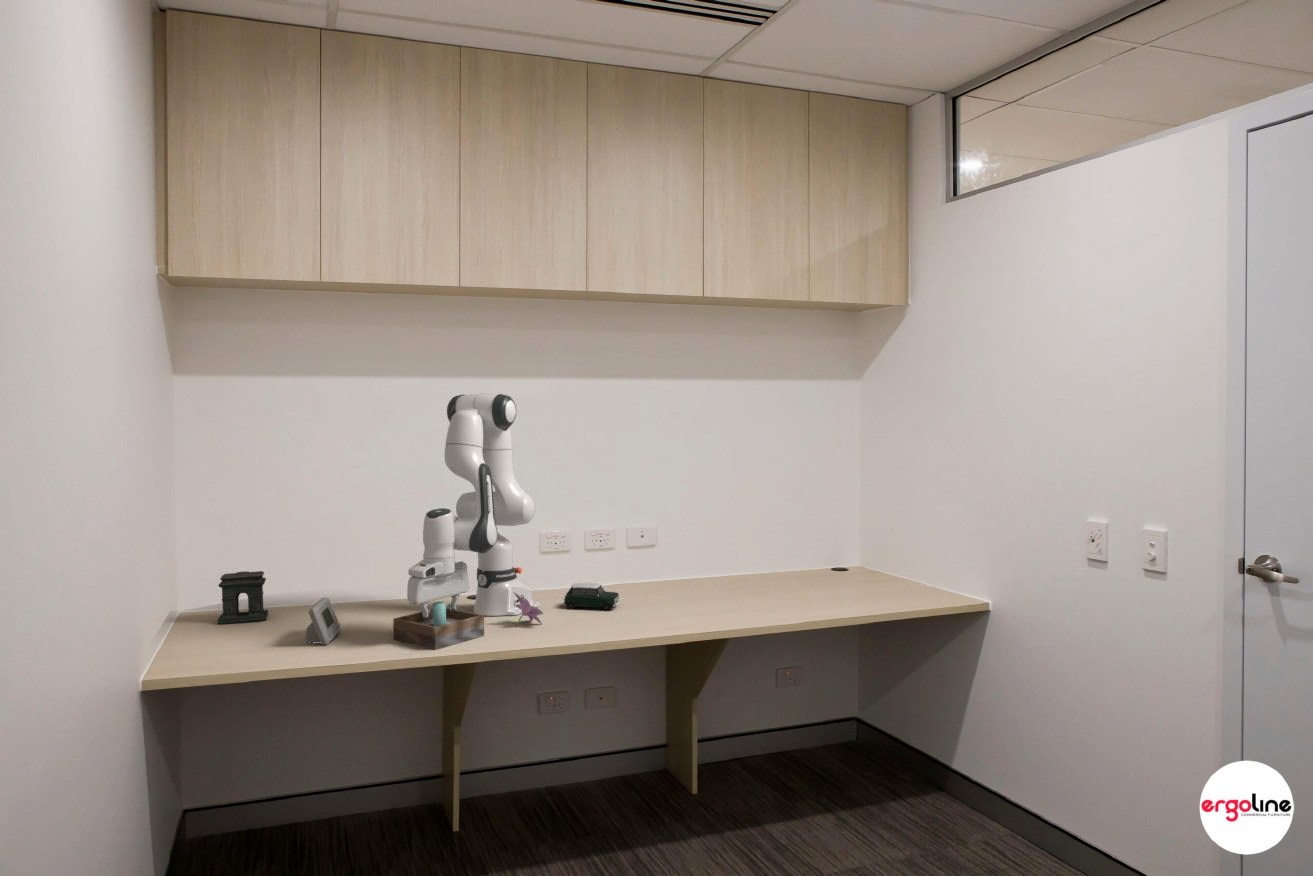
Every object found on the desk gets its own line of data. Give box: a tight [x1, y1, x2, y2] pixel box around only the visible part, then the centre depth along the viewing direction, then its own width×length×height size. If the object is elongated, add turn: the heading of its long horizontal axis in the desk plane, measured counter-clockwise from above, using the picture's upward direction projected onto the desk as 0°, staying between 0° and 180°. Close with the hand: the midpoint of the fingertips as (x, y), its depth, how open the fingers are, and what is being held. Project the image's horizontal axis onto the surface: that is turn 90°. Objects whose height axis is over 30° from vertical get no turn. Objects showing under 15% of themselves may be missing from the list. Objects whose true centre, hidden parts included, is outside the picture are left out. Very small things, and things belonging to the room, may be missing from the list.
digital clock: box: [305, 596, 341, 646], centre depth 248 cm, size 16×9×11 cm, turn 177°
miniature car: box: [563, 582, 620, 612], centre depth 288 cm, size 9×18×8 cm, turn 81°
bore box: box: [392, 607, 485, 651], centre depth 250 cm, size 18×18×6 cm
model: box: [217, 570, 269, 625], centre depth 269 cm, size 14×9×15 cm, turn 112°
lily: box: [513, 592, 544, 628], centre depth 264 cm, size 12×12×10 cm
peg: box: [432, 601, 447, 627], centre depth 250 cm, size 4×4×10 cm
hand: (439, 613), depth 250 cm, fingers open, 8 cm apart
